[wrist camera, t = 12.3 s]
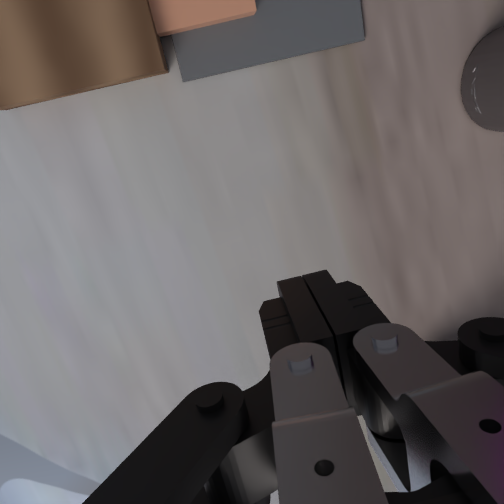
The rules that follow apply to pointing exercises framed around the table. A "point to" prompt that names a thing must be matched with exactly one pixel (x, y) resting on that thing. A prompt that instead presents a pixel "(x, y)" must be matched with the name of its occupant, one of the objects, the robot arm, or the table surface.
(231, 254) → the table surface
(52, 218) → the table surface
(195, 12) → the salmon pink rectangular block
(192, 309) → the table surface
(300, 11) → the mat
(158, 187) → the table surface
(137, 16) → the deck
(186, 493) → the robot arm
